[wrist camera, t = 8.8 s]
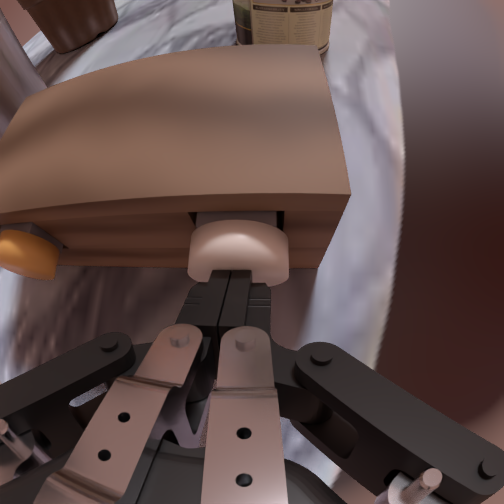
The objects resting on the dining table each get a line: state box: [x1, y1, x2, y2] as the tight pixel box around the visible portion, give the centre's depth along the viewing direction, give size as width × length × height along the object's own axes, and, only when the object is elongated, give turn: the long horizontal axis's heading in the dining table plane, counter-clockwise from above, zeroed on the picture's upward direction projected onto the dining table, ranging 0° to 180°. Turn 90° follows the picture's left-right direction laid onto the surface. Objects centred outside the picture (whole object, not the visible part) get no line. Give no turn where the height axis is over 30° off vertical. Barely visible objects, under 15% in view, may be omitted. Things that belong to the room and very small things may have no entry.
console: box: [0, 44, 351, 268], centre depth 16 cm, size 10×20×8 cm, turn 89°
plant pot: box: [17, 0, 118, 54], centre depth 26 cm, size 16×16×16 cm
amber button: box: [0, 222, 63, 280], centre depth 14 cm, size 6×4×4 cm, turn 179°
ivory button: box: [188, 211, 289, 287], centre depth 13 cm, size 6×4×4 cm, turn 179°
